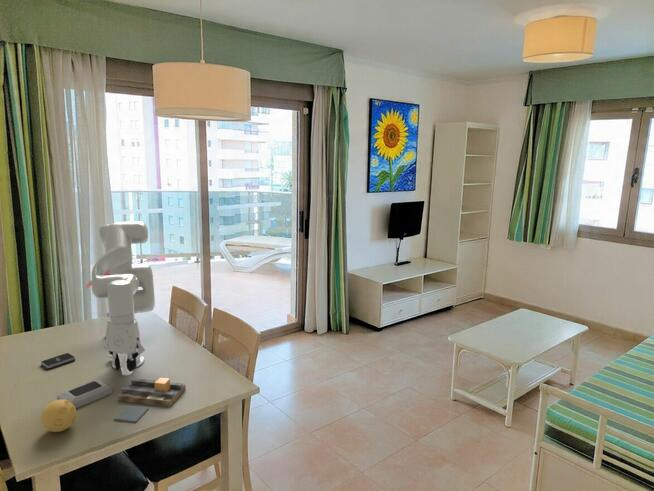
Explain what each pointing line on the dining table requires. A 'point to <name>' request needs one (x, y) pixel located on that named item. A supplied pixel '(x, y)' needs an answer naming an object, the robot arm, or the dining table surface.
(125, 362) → the milkshake
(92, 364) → the dining table surface
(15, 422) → the dining table surface
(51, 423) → the stress ball
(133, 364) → the robot arm
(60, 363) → the external hard drive
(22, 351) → the dining table surface
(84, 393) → the grey electronic device
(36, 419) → the dining table surface
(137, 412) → the mat
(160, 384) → the switch tab
